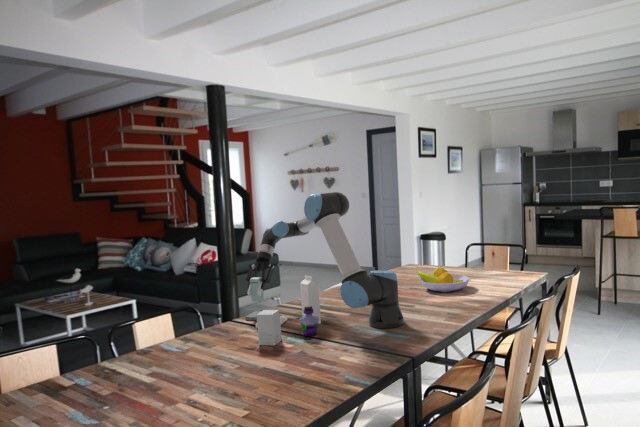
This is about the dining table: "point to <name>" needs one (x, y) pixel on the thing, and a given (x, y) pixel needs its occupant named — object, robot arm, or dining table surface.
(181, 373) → the dining table surface
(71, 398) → the dining table surface
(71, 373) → the dining table surface
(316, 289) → the milk
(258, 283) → the light blue tall block
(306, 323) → the potion bottle
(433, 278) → the fruit bowl
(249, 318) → the coaster
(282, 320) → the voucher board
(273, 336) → the supplement box
